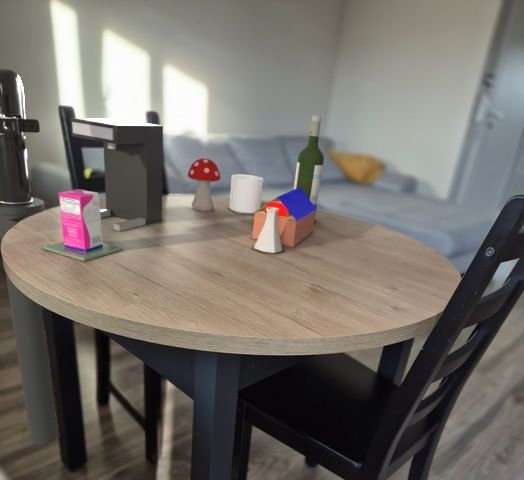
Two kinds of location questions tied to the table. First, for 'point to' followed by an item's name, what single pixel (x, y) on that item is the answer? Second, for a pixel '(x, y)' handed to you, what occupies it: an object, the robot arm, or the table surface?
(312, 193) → the wine bottle
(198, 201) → the decorative mushroom
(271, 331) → the table surface
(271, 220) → the flask
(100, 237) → the supplement box
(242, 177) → the mug
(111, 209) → the espresso machine
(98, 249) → the plate
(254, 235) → the house
